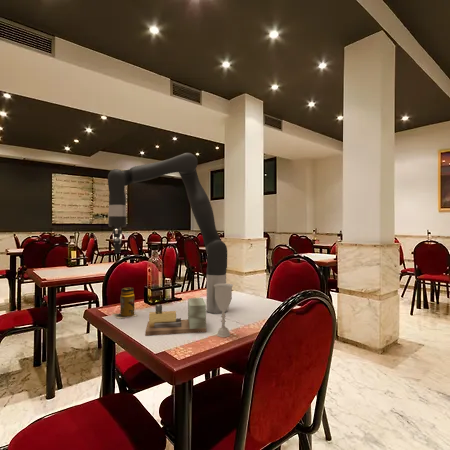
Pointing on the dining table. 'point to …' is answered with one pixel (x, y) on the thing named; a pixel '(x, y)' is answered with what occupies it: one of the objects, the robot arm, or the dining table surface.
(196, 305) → the brown board with blocks
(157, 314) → the tan box
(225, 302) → the chalice
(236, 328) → the dining table surface
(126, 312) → the condiment
